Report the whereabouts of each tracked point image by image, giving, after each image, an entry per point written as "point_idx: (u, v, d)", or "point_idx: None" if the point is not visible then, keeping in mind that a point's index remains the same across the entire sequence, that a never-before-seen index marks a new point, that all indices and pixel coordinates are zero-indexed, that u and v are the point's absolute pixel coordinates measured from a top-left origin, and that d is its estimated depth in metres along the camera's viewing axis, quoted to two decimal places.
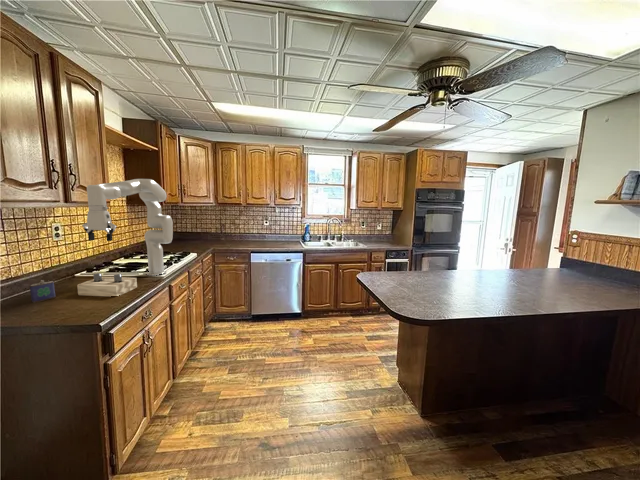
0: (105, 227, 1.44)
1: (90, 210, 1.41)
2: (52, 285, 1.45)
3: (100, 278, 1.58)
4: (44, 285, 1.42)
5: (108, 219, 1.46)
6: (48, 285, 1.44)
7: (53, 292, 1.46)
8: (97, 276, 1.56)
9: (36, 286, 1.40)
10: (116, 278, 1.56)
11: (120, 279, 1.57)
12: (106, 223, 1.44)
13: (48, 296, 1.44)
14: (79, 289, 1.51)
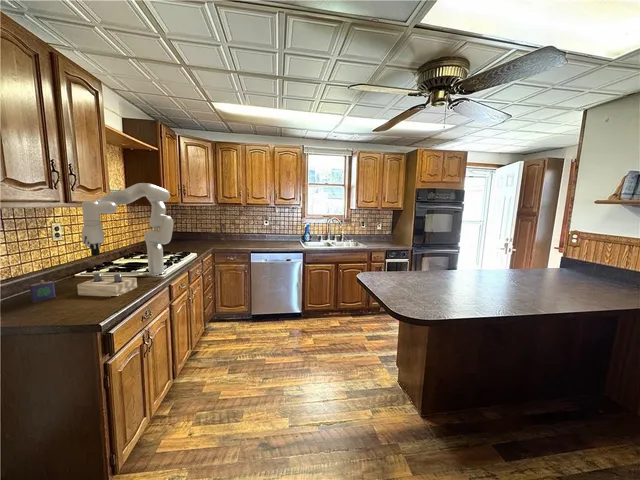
0: None
1: (97, 225, 1.52)
2: (52, 285, 1.45)
3: (100, 278, 1.58)
4: (44, 285, 1.42)
5: None
6: (48, 285, 1.44)
7: (53, 292, 1.46)
8: (97, 276, 1.56)
9: (36, 286, 1.40)
10: (116, 278, 1.56)
11: (120, 279, 1.57)
12: None
13: (48, 296, 1.44)
14: (79, 289, 1.51)
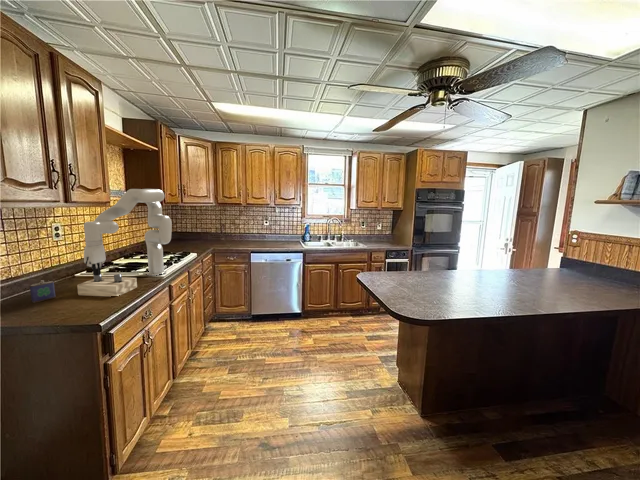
0: (105, 258, 1.61)
1: (99, 245, 1.54)
2: (52, 285, 1.45)
3: (100, 279, 1.58)
4: (44, 285, 1.42)
5: None
6: (48, 285, 1.44)
7: (53, 292, 1.46)
8: (97, 277, 1.56)
9: (36, 286, 1.40)
10: (116, 278, 1.56)
11: (120, 279, 1.57)
12: None
13: (48, 296, 1.44)
14: (79, 289, 1.51)
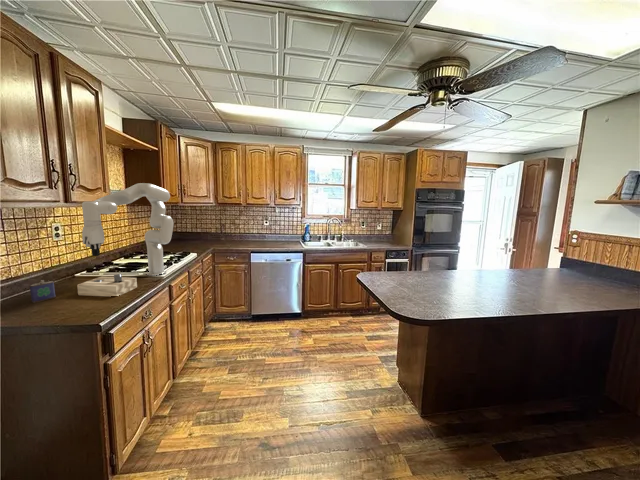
0: (104, 239, 1.59)
1: (97, 225, 1.52)
2: (52, 285, 1.45)
3: None
4: (44, 285, 1.42)
5: None
6: (48, 285, 1.44)
7: (53, 292, 1.46)
8: None
9: (36, 286, 1.40)
10: (116, 278, 1.56)
11: (120, 279, 1.57)
12: None
13: (48, 296, 1.44)
14: (79, 289, 1.51)
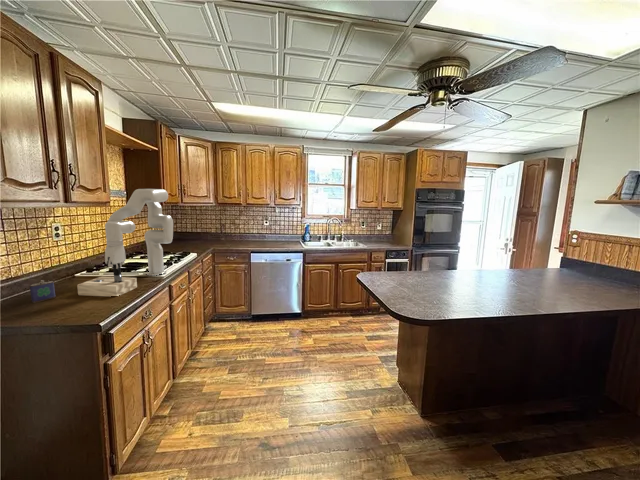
0: (125, 258, 1.60)
1: (119, 245, 1.53)
2: (52, 285, 1.45)
3: None
4: (44, 285, 1.42)
5: None
6: (48, 285, 1.44)
7: (53, 292, 1.46)
8: None
9: (36, 286, 1.40)
10: (116, 278, 1.56)
11: (120, 279, 1.57)
12: None
13: (48, 296, 1.44)
14: (79, 289, 1.51)
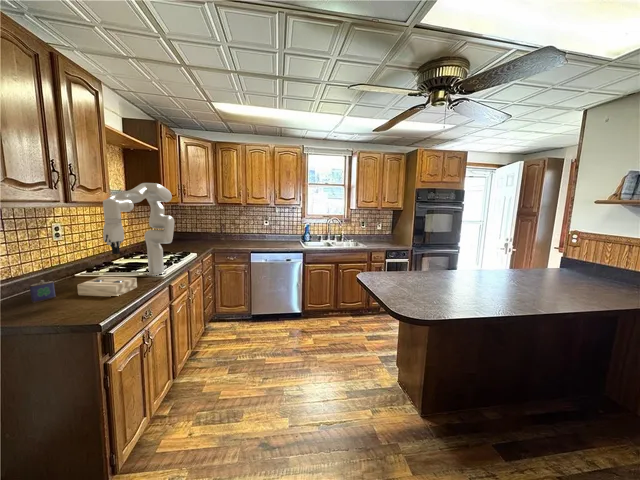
0: None
1: (118, 223, 1.51)
2: (52, 285, 1.45)
3: None
4: (44, 285, 1.42)
5: None
6: (48, 285, 1.44)
7: (53, 292, 1.46)
8: None
9: (36, 286, 1.40)
10: None
11: None
12: None
13: (48, 296, 1.44)
14: (79, 289, 1.51)
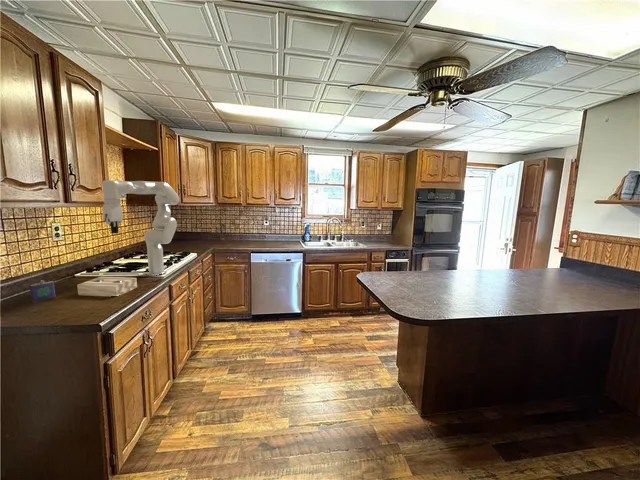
0: (122, 218, 1.65)
1: (117, 203, 1.58)
2: (52, 285, 1.45)
3: None
4: (44, 285, 1.42)
5: None
6: (48, 285, 1.44)
7: (53, 292, 1.46)
8: None
9: (36, 286, 1.40)
10: None
11: None
12: None
13: (48, 296, 1.44)
14: (79, 289, 1.51)
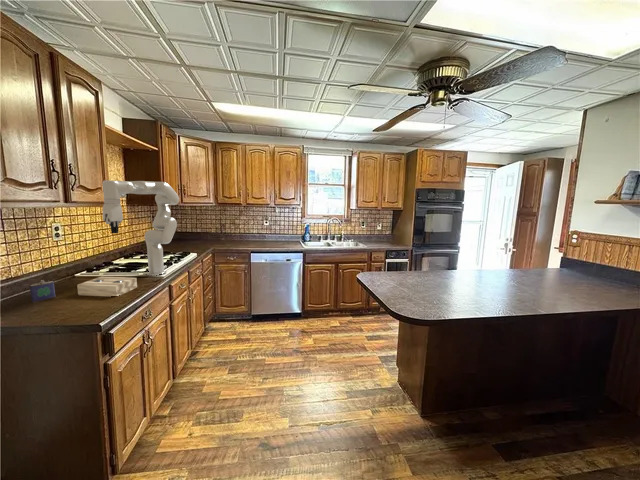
0: (122, 218, 1.65)
1: (117, 203, 1.58)
2: (52, 285, 1.45)
3: None
4: (44, 285, 1.42)
5: None
6: (48, 285, 1.44)
7: (53, 292, 1.46)
8: None
9: (36, 286, 1.40)
10: None
11: None
12: None
13: (48, 296, 1.44)
14: (79, 289, 1.51)
